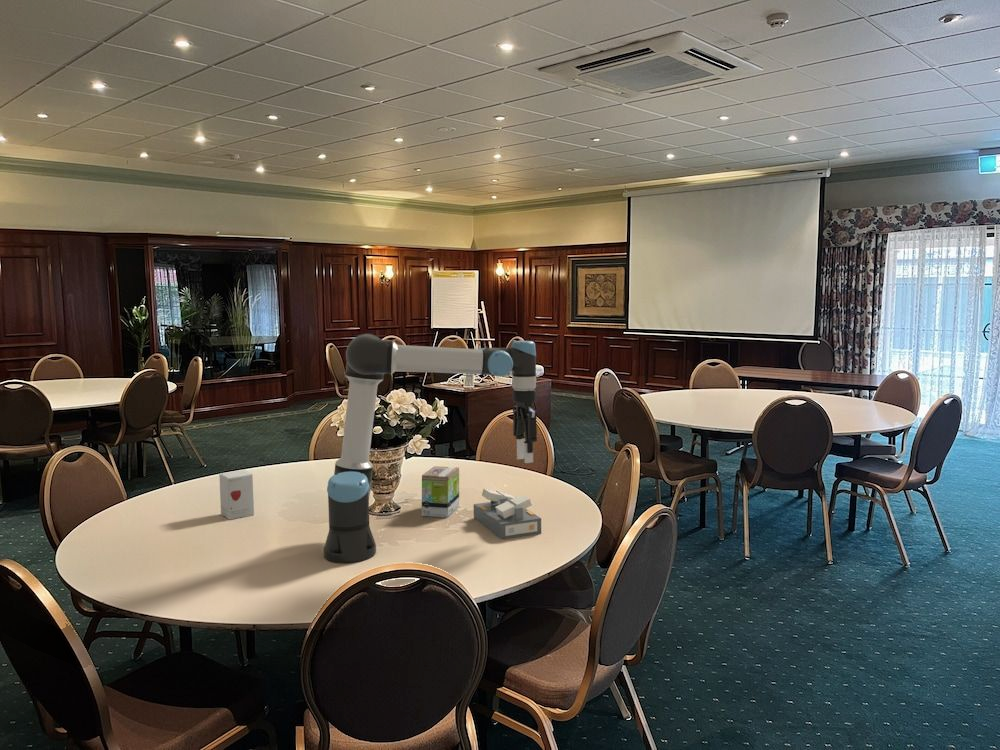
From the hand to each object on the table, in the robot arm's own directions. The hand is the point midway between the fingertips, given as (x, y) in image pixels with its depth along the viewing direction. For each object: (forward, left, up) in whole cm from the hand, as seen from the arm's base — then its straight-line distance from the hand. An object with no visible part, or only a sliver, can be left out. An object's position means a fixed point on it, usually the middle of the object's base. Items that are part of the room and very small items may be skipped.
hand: (524, 460), depth 224 cm
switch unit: (-4, +6, -23) cm, 24 cm away
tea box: (-19, +31, -23) cm, 43 cm away
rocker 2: (-4, 0, -16) cm, 16 cm away
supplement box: (-86, +57, -23) cm, 105 cm away
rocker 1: (-5, +12, -16) cm, 20 cm away
